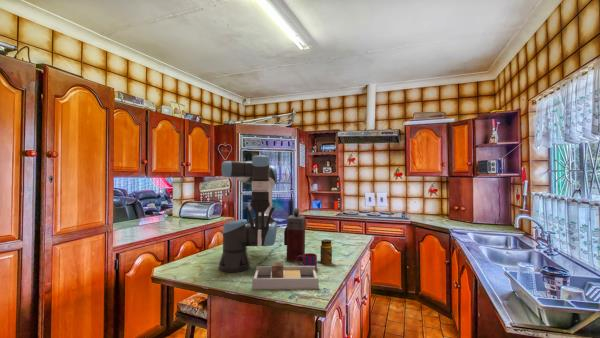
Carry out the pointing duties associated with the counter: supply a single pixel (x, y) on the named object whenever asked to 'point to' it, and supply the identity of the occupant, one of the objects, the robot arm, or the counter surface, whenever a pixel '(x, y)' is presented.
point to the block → (277, 269)
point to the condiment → (326, 253)
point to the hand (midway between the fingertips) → (259, 245)
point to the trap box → (286, 278)
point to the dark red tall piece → (295, 236)
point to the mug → (309, 260)
